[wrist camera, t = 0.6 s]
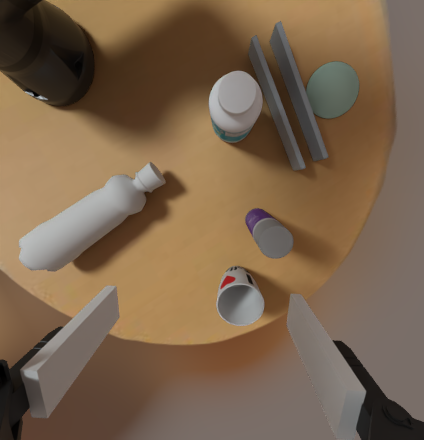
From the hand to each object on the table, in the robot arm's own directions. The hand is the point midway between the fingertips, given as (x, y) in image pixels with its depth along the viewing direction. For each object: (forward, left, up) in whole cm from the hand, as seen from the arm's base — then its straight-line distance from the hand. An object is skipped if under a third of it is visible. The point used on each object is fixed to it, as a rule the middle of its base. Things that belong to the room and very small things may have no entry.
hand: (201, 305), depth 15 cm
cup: (+13, -1, -27) cm, 30 cm away
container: (+3, +8, -27) cm, 28 cm away
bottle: (-12, -20, -27) cm, 36 cm away
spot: (-13, +29, -27) cm, 42 cm away
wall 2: (-14, +19, -27) cm, 36 cm away
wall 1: (-14, +23, -27) cm, 38 cm away
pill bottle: (-16, +11, -27) cm, 33 cm away
